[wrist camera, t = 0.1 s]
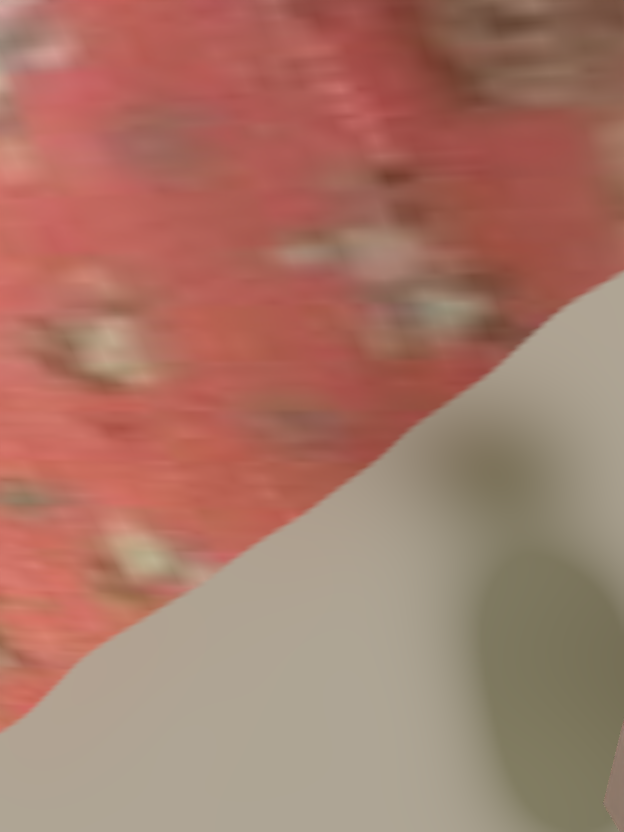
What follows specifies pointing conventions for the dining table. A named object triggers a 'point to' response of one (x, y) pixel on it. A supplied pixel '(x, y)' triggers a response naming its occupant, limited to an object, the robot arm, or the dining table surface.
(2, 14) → the dining table surface
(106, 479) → the dining table surface
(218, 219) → the dining table surface
